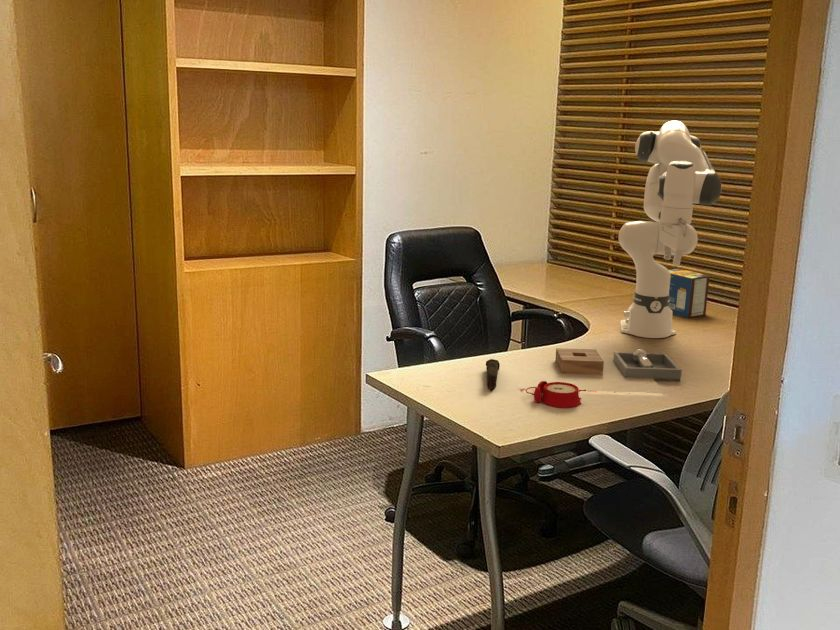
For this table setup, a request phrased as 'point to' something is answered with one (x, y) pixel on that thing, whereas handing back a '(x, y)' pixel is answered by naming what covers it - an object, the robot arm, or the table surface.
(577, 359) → the block
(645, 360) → the pin
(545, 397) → the alarm clock
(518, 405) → the table surface
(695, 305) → the protein box
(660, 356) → the tray
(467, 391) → the table surface
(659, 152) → the robot arm
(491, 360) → the hand tool
